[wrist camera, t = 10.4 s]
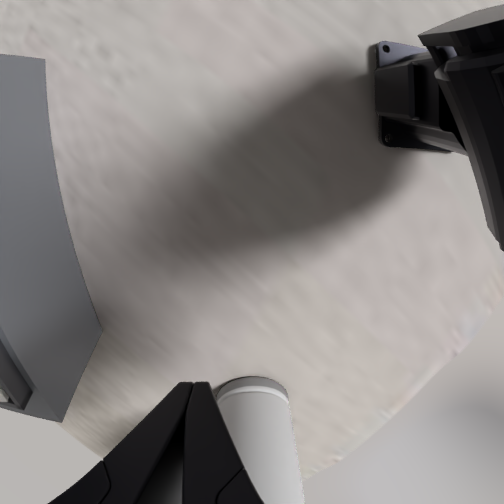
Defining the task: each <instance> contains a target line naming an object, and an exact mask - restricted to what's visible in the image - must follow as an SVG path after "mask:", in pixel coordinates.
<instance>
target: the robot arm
mask: <svg viewBox="0 0 504 504" xmlns="http://www.w3.org/2000/svg"><path fill="white" fill-rule="evenodd" d="M418 37H419V39H420V40H421V42H422V44H423V46H426V47H427V49H423V48H419V47H414V46H410V45H405V44H400V43H394V42H389V41H382V42H379V43H378V44H377V45H376V59H377V69H376V70H375V72H374V76H375V104H376V112H377V113H378V115H379V141H380V143H381V144H382V145H384V146H387V147H401V148H417V149H430V150H442V151H452V152H457V153H460V154H463V155H466V156H468V157H469V160H470V163H471V166H472V169H473V172H474V176H475V179H476V182H477V186H478V189H479V193H480V197H481V201H482V205H483V209H484V213H485V217H486V221H487V226H488V228H489V229H490V231H491V232H492V234H493V236H494V237H495V239H496V240H497V241H498V242H499V245H500V249H501V250H502V251H504V4H503V5H499V6H494V7H490V8H486V9H482V10H478V11H475V12H472V13H470V14H467V15H464V16H462V17H459V18H457V19H454V20H452V21H449V22H447V23H444V24H442V25H439V26H437V27H435V28H432V29H430V30H428V31H426V32H423V33H421V34H419V35H418ZM383 46H385V47H386V48H387V52H384V51H383V49H382V47H383ZM386 135H389V137H390V139H389V141H388V142H386V140H385V137H386ZM48 504H265V503H264V502H263V500H262V499H261V497H260V496H259V494H258V492H257V490H256V488H255V486H254V485H253V483H252V481H251V479H250V477H249V474H248V472H247V470H246V469H245V466H244V464H243V462H242V460H241V458H240V455H239V453H238V451H237V449H236V446H235V444H234V442H233V440H232V437H231V435H230V433H229V430H228V428H227V426H226V423H225V421H224V418H223V416H222V414H221V411H220V409H219V406H218V404H217V401H216V399H215V396H214V394H213V391H212V389H211V386H210V384H209V382H195V383H193V382H180V383H178V384H177V385H176V386H175V387H174V388H173V389H172V390H171V391H170V392H169V393H168V394H167V396H166V397H165V398H164V399H163V400H162V401H161V402H160V403H159V404H158V405H157V406H156V407H155V408H154V409H153V410H152V411H151V412H150V413H149V414H148V415H147V416H146V417H145V418H144V419H143V420H142V421H141V422H140V423H139V424H138V425H137V426H136V427H135V428H134V429H133V430H132V431H131V432H130V433H129V434H128V435H127V436H126V437H125V438H124V439H123V440H122V441H121V442H120V443H119V444H118V445H117V446H116V447H115V448H114V449H113V450H112V451H111V452H110V453H109V454H108V455H107V456H106V457H104V458H103V461H100V462H99V463H98V464H97V465H96V466H95V467H93V468H92V469H91V470H90V471H89V472H88V473H87V474H86V475H85V476H84V477H82V478H81V479H80V480H79V481H78V482H76V483H75V484H74V485H73V486H71V487H70V488H69V489H67V490H66V491H65V492H64V493H62V494H61V495H59V496H58V497H56V498H55V499H54V500H52V501H51V502H50V503H48Z"/></svg>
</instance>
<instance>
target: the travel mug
mask: <svg viewBox="0 0 504 504" xmlns="http://www.w3.org/2000/svg"><path fill="white" fill-rule="evenodd" d="M217 404H218V406H219V409H220V411H221V414H222V416H223V418H224V421H225V423H226V426H227V428H228V430H229V433H230V435H231V437H232V440H233V442H234V444H235V446H236V449H237V451H238V453H239V455H240V458H241V460H242V462H243V464H244V466H245V469H246V470H247V472H248V474H249V477H250V479H251V481H252V483H253V485H254V486H255V488H256V490H257V492H258V494H259V496H260V497H261V499H262V500H263V502H264V503H265V504H305V499H304V493H303V487H302V480H301V474H300V467H299V461H298V455H297V449H296V442H295V436H294V430H293V424H292V418H291V412H290V408H289V400H288V394H287V391H286V389H285V388H284V387H283V386H282V385H281V384H279V383H278V382H276V381H274V380H271V379H268V378H262V377H246V378H241V379H237V380H234V381H231V382H230V383H228V384H226V385H225V386H224V387H222V388H221V390H220V391H219V392H218V394H217Z"/></svg>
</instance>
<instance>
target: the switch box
mask: <svg viewBox="0 0 504 504" xmlns="http://www.w3.org/2000/svg"><path fill="white" fill-rule="evenodd" d="M101 333H102V329H101V326H100V324H99V321H98V318H97V316H96V313H95V310H94V308H93V305H92V302H91V299H90V296H89V294H88V291H87V288H86V285H85V282H84V279H83V276H82V272H81V269H80V266H79V263H78V259H77V256H76V253H75V249H74V246H73V242H72V238H71V235H70V231H69V227H68V223H67V219H66V215H65V211H64V206H63V202H62V197H61V192H60V188H59V183H58V177H57V172H56V166H55V160H54V154H53V148H52V141H51V133H50V125H49V116H48V105H47V92H46V74H45V59H39V58H32V57H24V56H15V55H5V54H0V384H1V386H2V387H3V388H4V390H5V391H6V393H7V394H8V395H9V399H8V402H0V407H1V408H4V409H7V410H11V411H15V412H19V413H22V414H26V415H30V416H34V417H38V418H42V419H46V420H51V421H56V422H61V423H62V422H63V419H64V416H65V414H66V411H67V409H68V407H69V404H70V402H71V399H72V397H73V395H74V392H75V390H76V388H77V385H78V383H79V381H80V378H81V376H82V374H83V372H84V369H85V367H86V365H87V363H88V361H89V358H90V356H91V354H92V352H93V350H94V348H95V346H96V344H97V342H98V339H99V337H100V335H101Z"/></svg>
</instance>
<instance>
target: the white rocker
mask: <svg viewBox="0 0 504 504" xmlns="http://www.w3.org/2000/svg"><path fill="white" fill-rule="evenodd" d="M8 399H9V395H8V394H7V393H6V391H5V390H4V388H3V387H2V386H1V384H0V402H8Z"/></svg>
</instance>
